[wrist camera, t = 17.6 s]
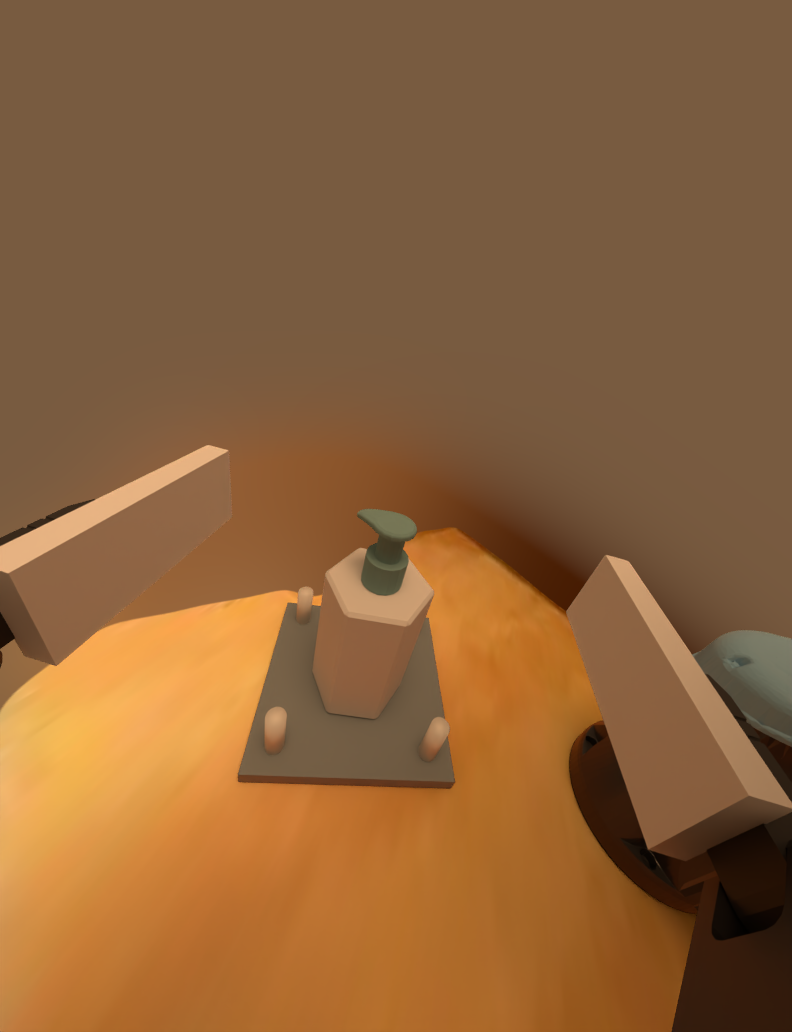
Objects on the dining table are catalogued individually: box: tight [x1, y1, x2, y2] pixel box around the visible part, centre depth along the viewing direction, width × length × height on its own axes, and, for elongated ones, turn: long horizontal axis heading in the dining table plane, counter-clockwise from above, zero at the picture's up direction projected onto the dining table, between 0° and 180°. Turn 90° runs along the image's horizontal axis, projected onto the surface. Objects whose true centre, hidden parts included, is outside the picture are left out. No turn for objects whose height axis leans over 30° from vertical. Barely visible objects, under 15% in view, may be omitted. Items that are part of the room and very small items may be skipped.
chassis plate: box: [238, 587, 455, 788], centre depth 39 cm, size 20×20×6 cm
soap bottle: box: [312, 509, 434, 719], centre depth 34 cm, size 10×9×22 cm
